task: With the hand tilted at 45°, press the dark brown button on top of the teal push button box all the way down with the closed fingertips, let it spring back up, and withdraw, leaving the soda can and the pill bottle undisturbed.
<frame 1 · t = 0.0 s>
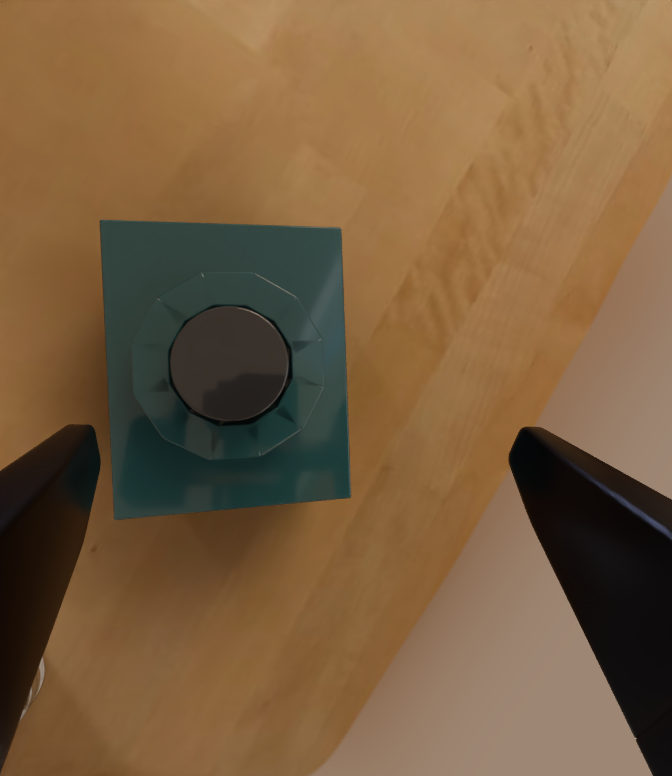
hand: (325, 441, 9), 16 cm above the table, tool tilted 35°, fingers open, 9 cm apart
teal push button box: (235, 371, 24), on the table
dark brown button: (231, 364, 15), point 10 cm above the table, slide at 0.1 cm
pill bottle: (0, 668, 22), on the table
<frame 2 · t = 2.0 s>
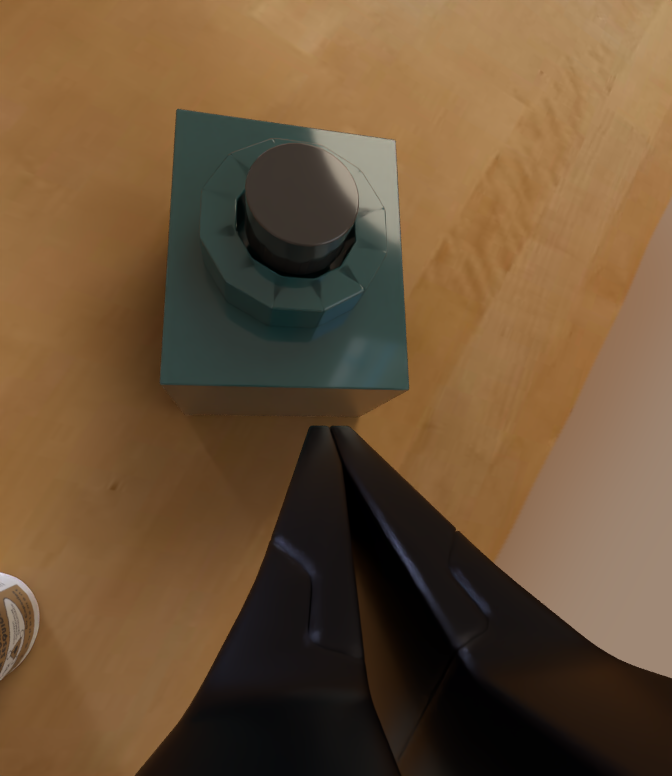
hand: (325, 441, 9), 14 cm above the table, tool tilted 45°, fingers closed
teal push button box: (276, 314, 24), on the table
dark brown button: (299, 211, 15), point 10 cm above the table, slide at 0.1 cm
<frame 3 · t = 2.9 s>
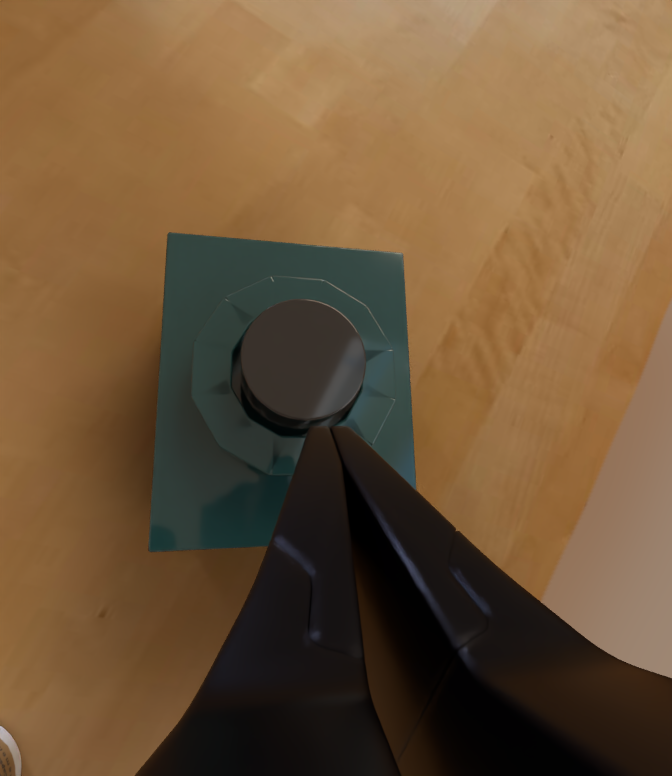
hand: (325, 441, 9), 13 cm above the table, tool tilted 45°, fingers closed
teal push button box: (276, 413, 23), on the table
dark brown button: (300, 366, 14), point 10 cm above the table, slide at 0.1 cm
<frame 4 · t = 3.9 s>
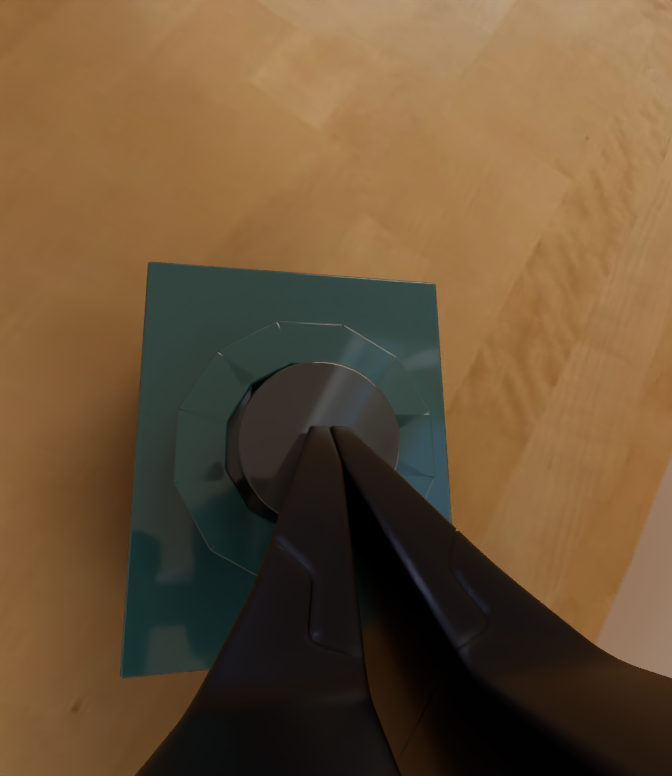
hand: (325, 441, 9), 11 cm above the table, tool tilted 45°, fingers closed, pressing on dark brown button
teal push button box: (280, 460, 20), on the table
dark brown button: (315, 444, 11), point 9 cm above the table, slide at -0.1 cm, touching gripper
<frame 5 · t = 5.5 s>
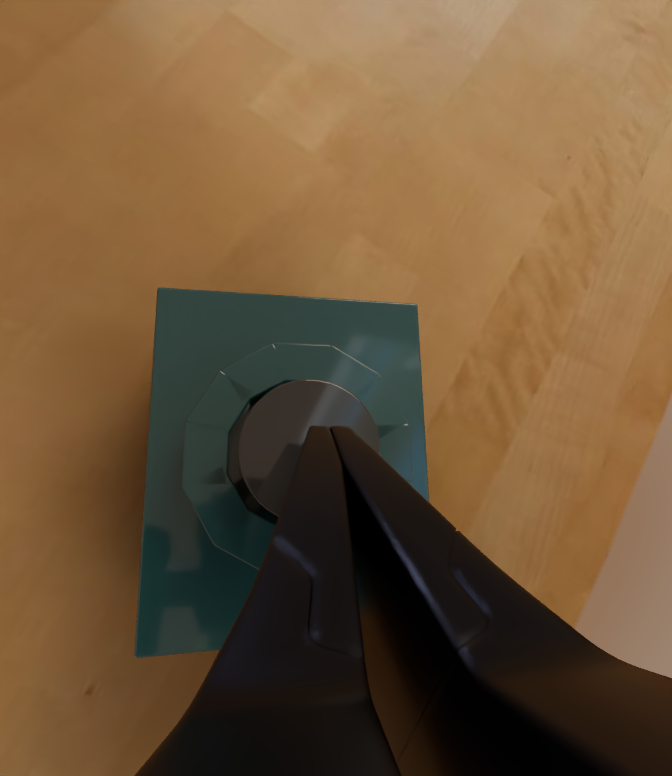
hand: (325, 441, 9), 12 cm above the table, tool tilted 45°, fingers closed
teal push button box: (277, 464, 21), on the table
dark brown button: (306, 451, 12), point 10 cm above the table, slide at 0.1 cm
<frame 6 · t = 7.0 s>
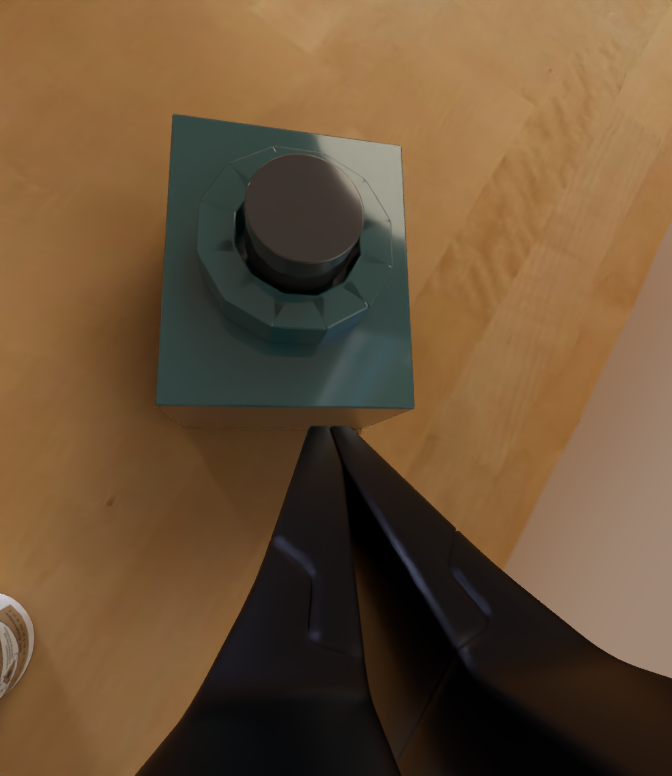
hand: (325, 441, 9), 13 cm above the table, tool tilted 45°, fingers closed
teal push button box: (277, 323, 24), on the table
dark brown button: (301, 225, 14), point 10 cm above the table, slide at 0.1 cm
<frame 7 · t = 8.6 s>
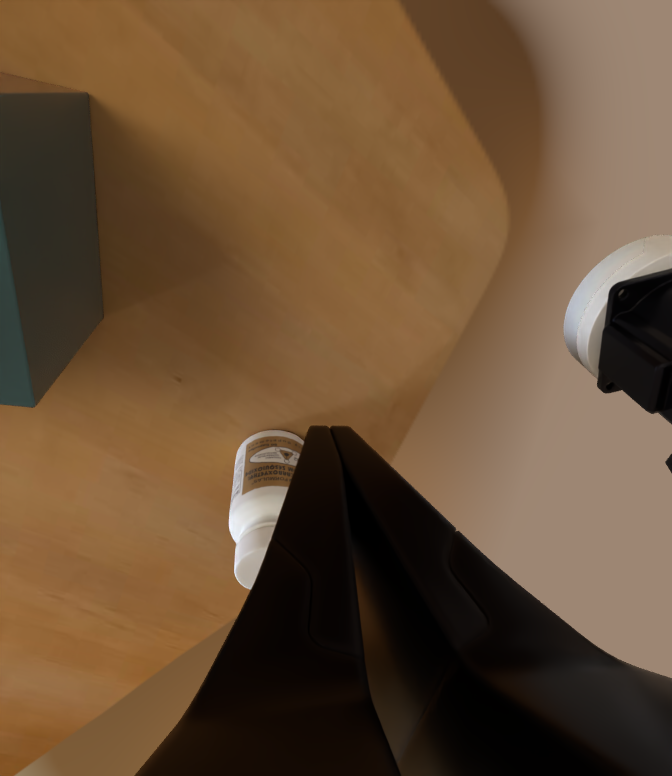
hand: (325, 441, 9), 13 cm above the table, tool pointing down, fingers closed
pill bottle: (274, 453, 27), on the table
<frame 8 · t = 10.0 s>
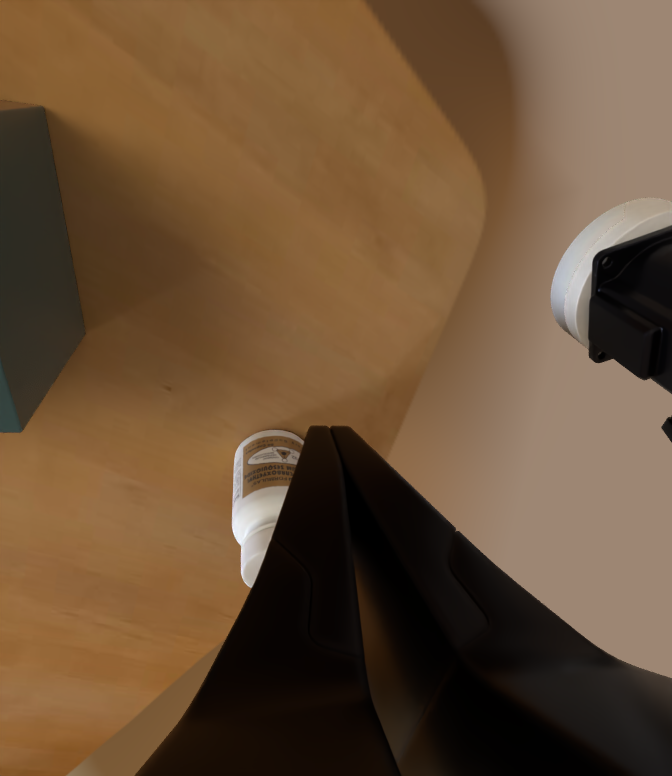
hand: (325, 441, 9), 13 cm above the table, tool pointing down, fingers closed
pill bottle: (272, 453, 27), on the table
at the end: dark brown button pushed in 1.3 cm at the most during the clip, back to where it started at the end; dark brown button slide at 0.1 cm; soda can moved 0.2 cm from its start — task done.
